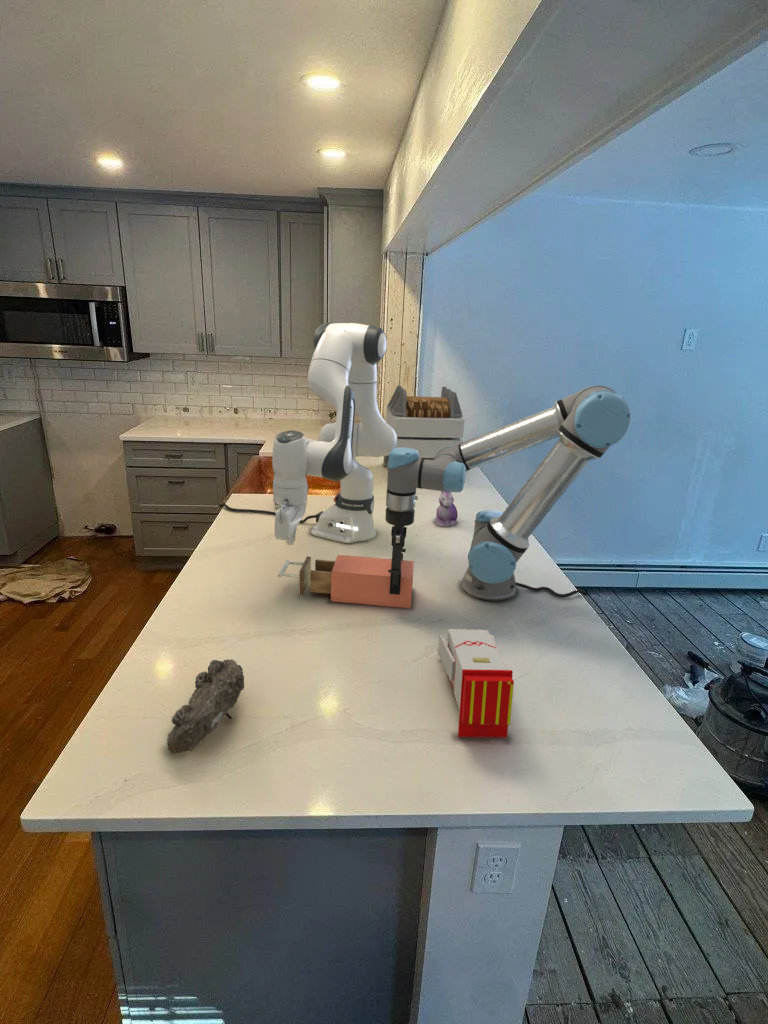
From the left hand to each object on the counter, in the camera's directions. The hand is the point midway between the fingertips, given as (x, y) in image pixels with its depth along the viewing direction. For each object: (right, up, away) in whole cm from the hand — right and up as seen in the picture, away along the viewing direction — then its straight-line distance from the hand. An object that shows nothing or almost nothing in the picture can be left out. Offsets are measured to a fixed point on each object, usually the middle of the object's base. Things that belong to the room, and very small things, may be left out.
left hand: (290, 542), depth 153 cm
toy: (+43, -29, -34) cm, 62 cm away
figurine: (+48, +4, +59) cm, 77 cm away
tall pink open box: (+22, -15, +3) cm, 27 cm away
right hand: (+28, -11, +2) cm, 31 cm away
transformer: (+42, +27, +122) cm, 132 cm away
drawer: (+10, -13, +4) cm, 16 cm away
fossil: (-8, -31, -45) cm, 55 cm away
